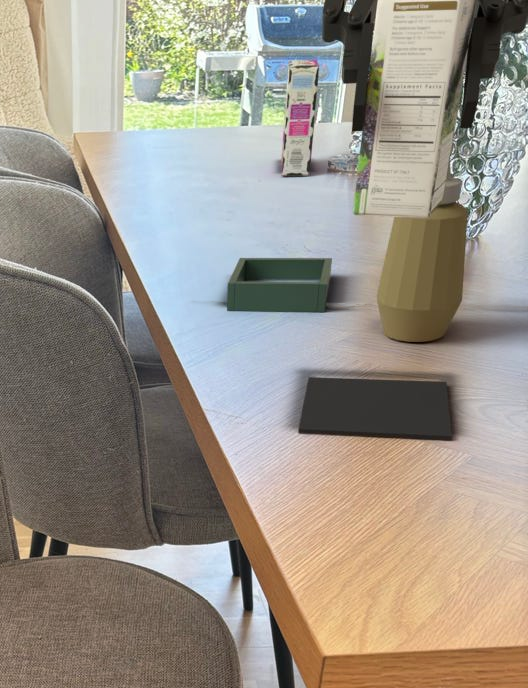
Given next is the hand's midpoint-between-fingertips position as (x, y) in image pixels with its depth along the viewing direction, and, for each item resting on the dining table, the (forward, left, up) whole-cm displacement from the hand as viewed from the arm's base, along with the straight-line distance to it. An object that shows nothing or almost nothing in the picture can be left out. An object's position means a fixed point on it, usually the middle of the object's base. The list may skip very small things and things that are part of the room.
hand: (412, 116), depth 70 cm
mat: (0, -3, -23) cm, 23 cm away
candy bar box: (+15, -109, -23) cm, 113 cm away
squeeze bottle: (-3, -23, -23) cm, 33 cm away
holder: (+11, -35, -23) cm, 44 cm away
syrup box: (0, -4, -7) cm, 8 cm away
